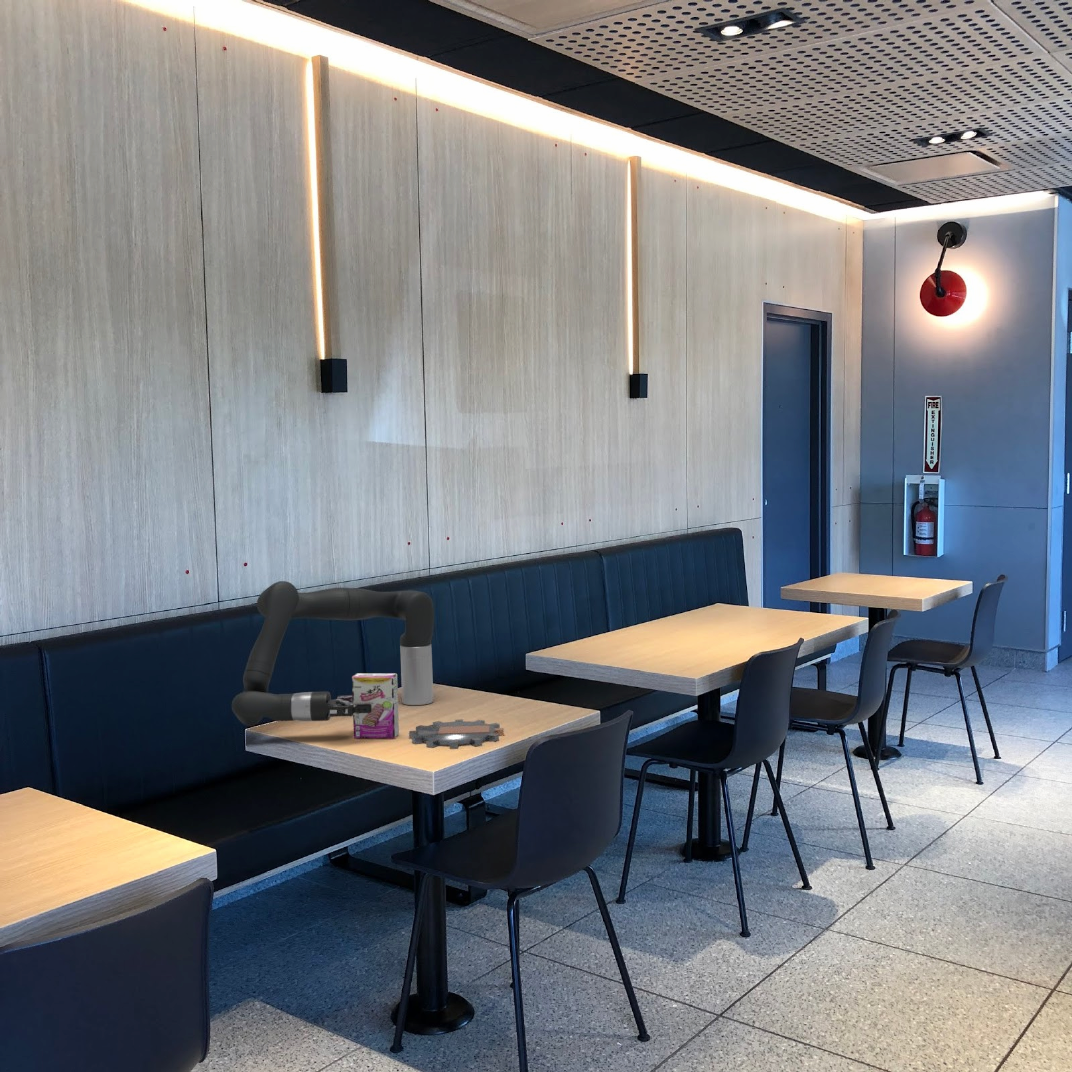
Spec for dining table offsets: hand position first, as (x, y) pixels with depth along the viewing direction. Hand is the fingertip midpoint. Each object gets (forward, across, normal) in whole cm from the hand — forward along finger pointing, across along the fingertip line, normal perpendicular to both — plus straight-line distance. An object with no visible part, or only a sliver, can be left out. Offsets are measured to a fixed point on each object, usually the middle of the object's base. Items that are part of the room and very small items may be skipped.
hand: (373, 704), depth 290 cm
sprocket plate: (+21, -2, +8) cm, 23 cm away
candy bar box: (0, 0, +9) cm, 9 cm away
